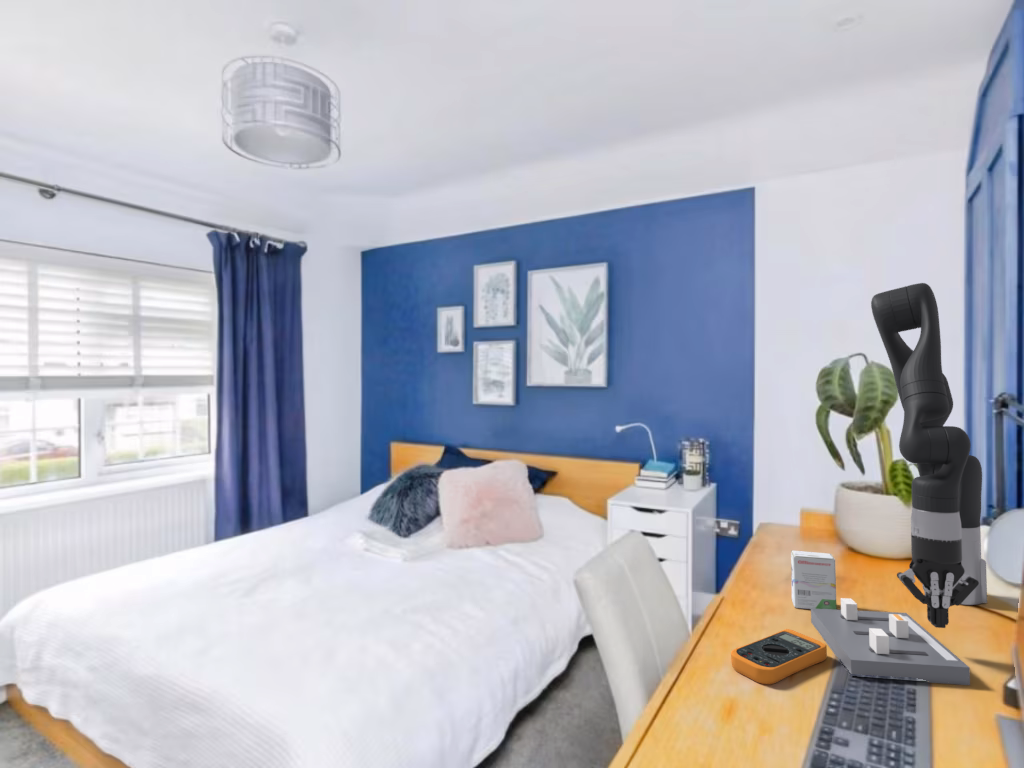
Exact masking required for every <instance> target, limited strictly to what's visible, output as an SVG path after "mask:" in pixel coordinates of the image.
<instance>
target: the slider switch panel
mask: <svg viewBox="0 0 1024 768" xmlns="http://www.w3.org/2000/svg"><path fill="white" fill-rule="evenodd" d="M889 614H901V615H902V616H903V617H904V618H905V619H906V620H907V621H908V633H909V638H896V637H895V636H894V635H893V634H892V633H891V632H890V631H889ZM810 616H811V617H810V622H811V624H812V625H813V627H814V628H815V629H816V631H817V632H818V634H819V635H820V636H821V638H822V639H823V641H825V644H826V645H827V647H829V649H830V650H831V651H832V653H833V654H834V655H835V657H836V656H837V657H838V658H839V659H841V661H842V662H843V663H844V665H845V666H846V667H847V669H848V670H849V672H850V673H851V674H860V675H861V674H862V675H872V676H873V675H874V676H875V675H876V676H877V675H878V676H892V677H893V676H894V677H900V676H901V677H912V678H918V679H923V680H926V681H929V682H928V683H933V684H945V685H960V686H961V685H962V686H970V685H971V675H970V674H971V672H970V671H971V670H970V669H971V668H970V666H969V665H968V664H966V663H965V662H964V661H963V660H962V659H961V658H959V656H957V655H956V654H955V653H954V652H953V651H951V650H950V649H949V648H947V647H946V645H944V644H943V643H942V642H941V641H940V640H938V639H937V638H936V637H935V636H934V635H932V633H930V632H929V631H928V630H926V628H924V627H923V626H922V625H921V624H920V623H918V622H917V621H916V620H915V619H914V618H913V617H912V616H911V615H909V613H907V612H896V611H895V612H894V611H893V612H892V611H875V610H874V611H871V610H857V616H858V620H846V619H845V617H844V616H843V615H842V614H841V609H837V610H835V609H814V608H811V609H810ZM869 628H876V629H882V630H883V631H884V632H885V633H886V634H887V635H888V636H889V654H877V653H876V652H875V651H874V650H873V649H872V648H871V647H870V644H869ZM837 657H836V658H837ZM838 658H837V659H838ZM839 659H838V660H839Z"/></svg>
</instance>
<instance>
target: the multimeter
mask: <svg viewBox="0 0 1024 768" xmlns="http://www.w3.org/2000/svg"><path fill="white" fill-rule="evenodd" d="M827 647H828V646H827V644H826V643H824V642H822V641H820V640H818V639H816V638H812V637H810V636H808V635H805V634H803V633H800V632H798V631H795V630H792V629H790V628H786V629H785V628H784V629H783V630H780V631H778V632H776V633H773V634H771V635H768V636H766V637H763V638H761V639H759V640H756V641H753V642H750V643H747V644H745V645H742V646H738V647H736V648H734V649H731V652H730V660H731V661H730V663H731V666H732V668H733V670H735V671H736V672H737V673H739V674H741V675H743V676H744V677H746V678H748V679H750V680H752V681H754V682H756V683H759V684H761V685H774V684H776V683H778V682H780V681H782V680H785V679H786V678H788V677H790V676H791V675H794V674H796V673H799V672H800V671H802V670H803V671H804V669H807V668H809V667H811V666H814V665H816V664H819V663H822V662H824V661H825V660H826V659H827V658H828V657H827V656H828V654H827Z"/></svg>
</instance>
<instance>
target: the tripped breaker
mask: <svg viewBox="0 0 1024 768" xmlns="http://www.w3.org/2000/svg"><path fill="white" fill-rule="evenodd" d="M889 631H890V632H891V633H892V634H893V635H894V636H895V637H896V638H909V633H908V621H907V620H906V619H905V618H904V617H903V616H902V615H901V614H889Z"/></svg>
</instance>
